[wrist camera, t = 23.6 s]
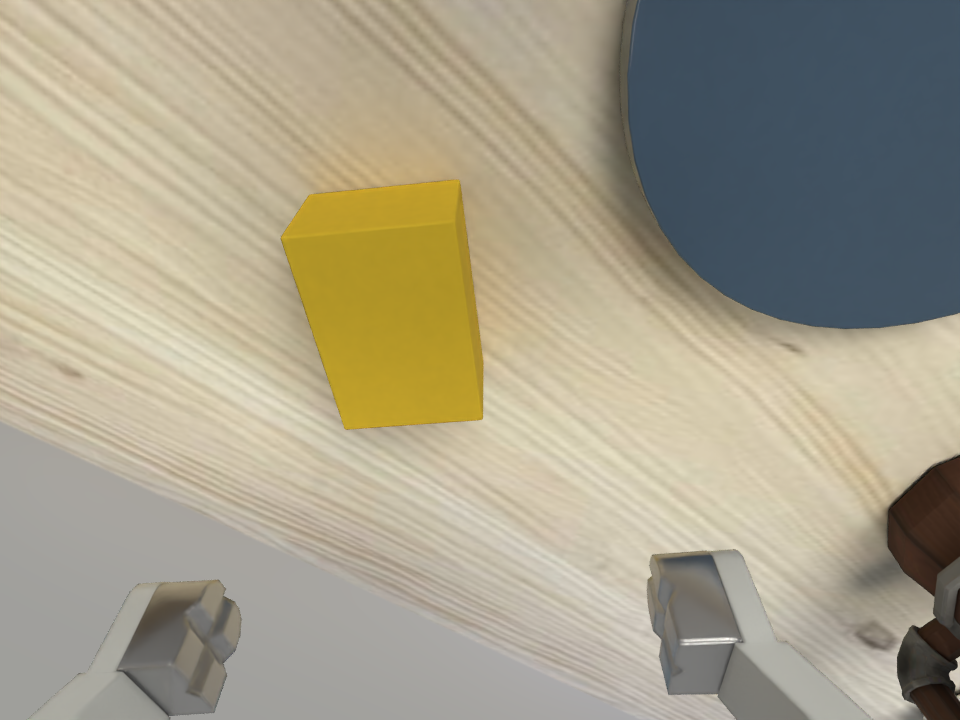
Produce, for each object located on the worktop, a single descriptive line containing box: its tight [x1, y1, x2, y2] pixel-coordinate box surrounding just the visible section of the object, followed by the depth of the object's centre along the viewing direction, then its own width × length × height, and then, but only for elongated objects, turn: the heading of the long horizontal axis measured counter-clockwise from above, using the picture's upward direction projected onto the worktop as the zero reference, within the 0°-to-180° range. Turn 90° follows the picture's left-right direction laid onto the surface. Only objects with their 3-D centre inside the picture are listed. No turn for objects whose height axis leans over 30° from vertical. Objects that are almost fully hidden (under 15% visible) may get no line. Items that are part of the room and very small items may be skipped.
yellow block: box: [281, 180, 483, 430], centre depth 24 cm, size 9×6×4 cm, turn 6°
